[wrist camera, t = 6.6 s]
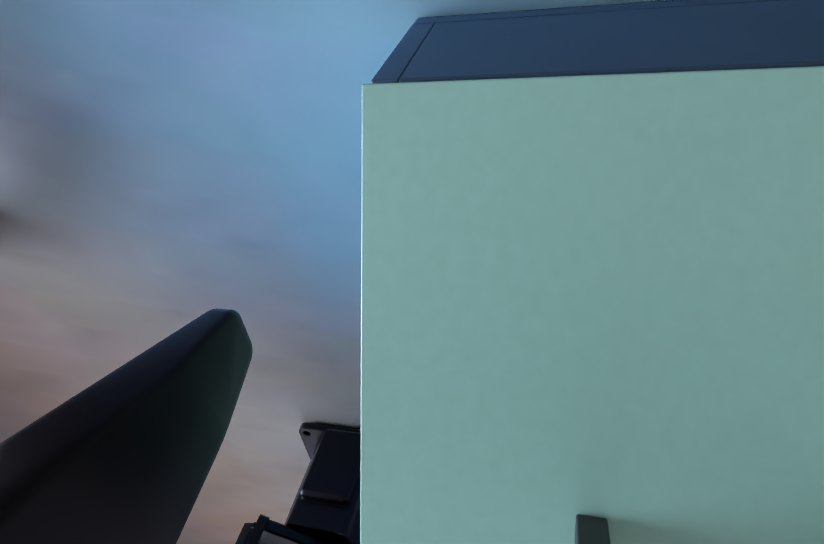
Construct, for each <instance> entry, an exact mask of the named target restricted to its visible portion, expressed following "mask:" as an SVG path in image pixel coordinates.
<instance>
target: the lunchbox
mask: <svg viewBox="0 0 824 544" xmlns="http://www.w3.org/2000/svg"><path fill="white" fill-rule="evenodd" d="M815 66H824V0H672V1H658V2H643V3H629V4H614V5H600V6H585V7H571V8H556V9H542V10H527V11H512V12H498V13H483V14H469V15H454V16H440V17H425V18H418V19H417V20H416V22H415V23H414V25H412V26H411V28H410V29H409V30H408V32H407V33H406V34H405V36H404V37H403V39H402V40H401V41H400V43H399V44H398V45H397V47H396V48H395V49H394V51H393V52H392V53H391V55H390V56H389V58H388V59H387V60H386V62H385V63H384V64H383V66H382V67H381V68H380V70H379V71H378V72H377V74H376V75H375V76H374V78H373V79H372V84H378V83H404V82H430V81H455V80H481V79H507V78H532V77H558V76H584V75H609V74H635V73H661V72H686V71H712V70H738V69H763V68H789V67H815Z"/></svg>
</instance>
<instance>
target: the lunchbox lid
mask: <svg viewBox="0 0 824 544" xmlns="http://www.w3.org/2000/svg"><path fill="white" fill-rule="evenodd" d="M360 544H824V66H815V67H789V68H763V69H738V70H712V71H686V72H661V73H635V74H609V75H584V76H558V77H532V78H507V79H481V80H455V81H430V82H404V83H378V84H363V85H362V164H361V464H360Z"/></svg>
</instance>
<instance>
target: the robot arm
mask: <svg viewBox="0 0 824 544" xmlns="http://www.w3.org/2000/svg"><path fill="white" fill-rule="evenodd" d="M251 358H252V344H251V341H250V338H249V336H248V333H247V331H246V328H245V326H244V324H243V321H242V319H241V316H240V315H239V313H237V312H236V311H234V310H228V309H212V310H209V311H208V312H206V313H205V314H203V315H201V316H200V317H198V318H197V319H195V320H193V321H192V322H190V323H189V324H187V325H186V326H184V327H182V328H181V329H179V330H178V331H176V332H175V333H173V334H171V335H170V336H168V337H167V338H165V339H164V340H162V341H160V342H159V343H157V344H156V345H154V346H153V347H151V348H149V349H148V350H146V351H145V352H143V353H142V354H140V355H138V356H137V357H135V358H134V359H132V360H131V361H129V362H127V363H126V364H124V365H123V366H121V367H120V368H118V369H116V370H115V371H113V372H112V373H110V374H109V375H107V376H105V377H104V378H102V379H101V380H99V381H98V382H96V383H94V384H93V385H91V386H90V387H88V388H87V389H85V390H83V391H82V392H80V393H79V394H77V395H76V396H74V397H72V398H71V399H69V400H68V401H66V402H64V403H63V404H61V405H60V406H58V407H57V408H55V409H53V410H52V411H50V412H49V413H47V414H46V415H44V416H42V417H41V418H39V419H38V420H36V421H35V422H33V423H31V424H30V425H28V426H27V427H25V428H24V429H22V430H20V431H19V432H17V433H16V434H14V435H13V436H11V437H9V438H8V439H6V440H5V441H3V442H2V443H1V444H0V544H176V542H177V540H178V538H179V536H180V534H181V531H182V529H183V527H184V525H185V523H186V521H187V518H188V516H189V514H190V512H191V510H192V508H193V505H194V503H195V501H196V499H197V497H198V495H199V492H200V490H201V488H202V486H203V484H204V481H205V479H206V477H207V475H208V473H209V471H210V468H211V466H212V464H213V462H214V460H215V458H216V455H217V453H218V451H219V449H220V446H221V444H222V442H223V439H224V437H225V434H226V431H227V429H228V426H229V423H230V420H231V417H232V414H233V411H234V408H235V405H236V403H237V400H238V397H239V394H240V391H241V388H242V385H243V382H244V379H245V376H246V373H247V370H248V367H249V364H250V361H251ZM299 433H300V435H301V438H302V440H303V442H304V445H305V447H306V450H307V452H308V454H309V457H310V459H311V461H310V463H309V466H308V468H307V471H306V473H305V476H304V478H303V481H302V483H301V485H300V488H299V490H298V493H297V495H296V498H295V500H294V503H293V505H292V507H291V510H290V512H289V515H288V517H287V520H286V522H285V524H284V525H283V524H280V523H277V522H275V521H272V520H269V517H266V516H264V515H261V514H260V516H259V518H258V520H257V522H254V523H245V524H244V526H243V528H242V531H241V533H240V535H239V537H238V539H237V541H236V543H235V544H360V464H361V429H353V428H345V427H337V426H329V425H321V424H313V423H303V424H302V425H301V427H300V430H299Z"/></svg>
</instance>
